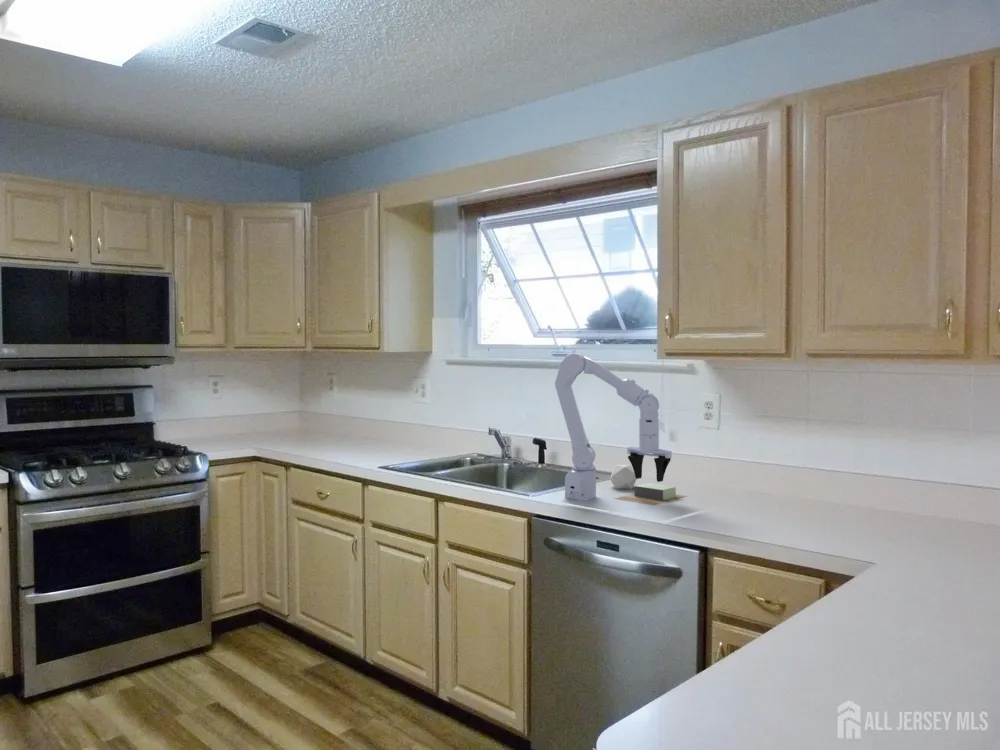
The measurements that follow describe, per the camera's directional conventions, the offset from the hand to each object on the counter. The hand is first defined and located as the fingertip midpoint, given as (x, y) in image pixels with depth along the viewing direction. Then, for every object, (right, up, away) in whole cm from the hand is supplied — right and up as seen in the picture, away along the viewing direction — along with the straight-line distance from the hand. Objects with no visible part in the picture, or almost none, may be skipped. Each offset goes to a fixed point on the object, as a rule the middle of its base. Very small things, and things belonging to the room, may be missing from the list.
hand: (649, 479), depth 230 cm
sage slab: (0, -4, 0) cm, 4 cm away
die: (-5, -6, +18) cm, 19 cm away
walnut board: (+1, -6, +1) cm, 6 cm away
